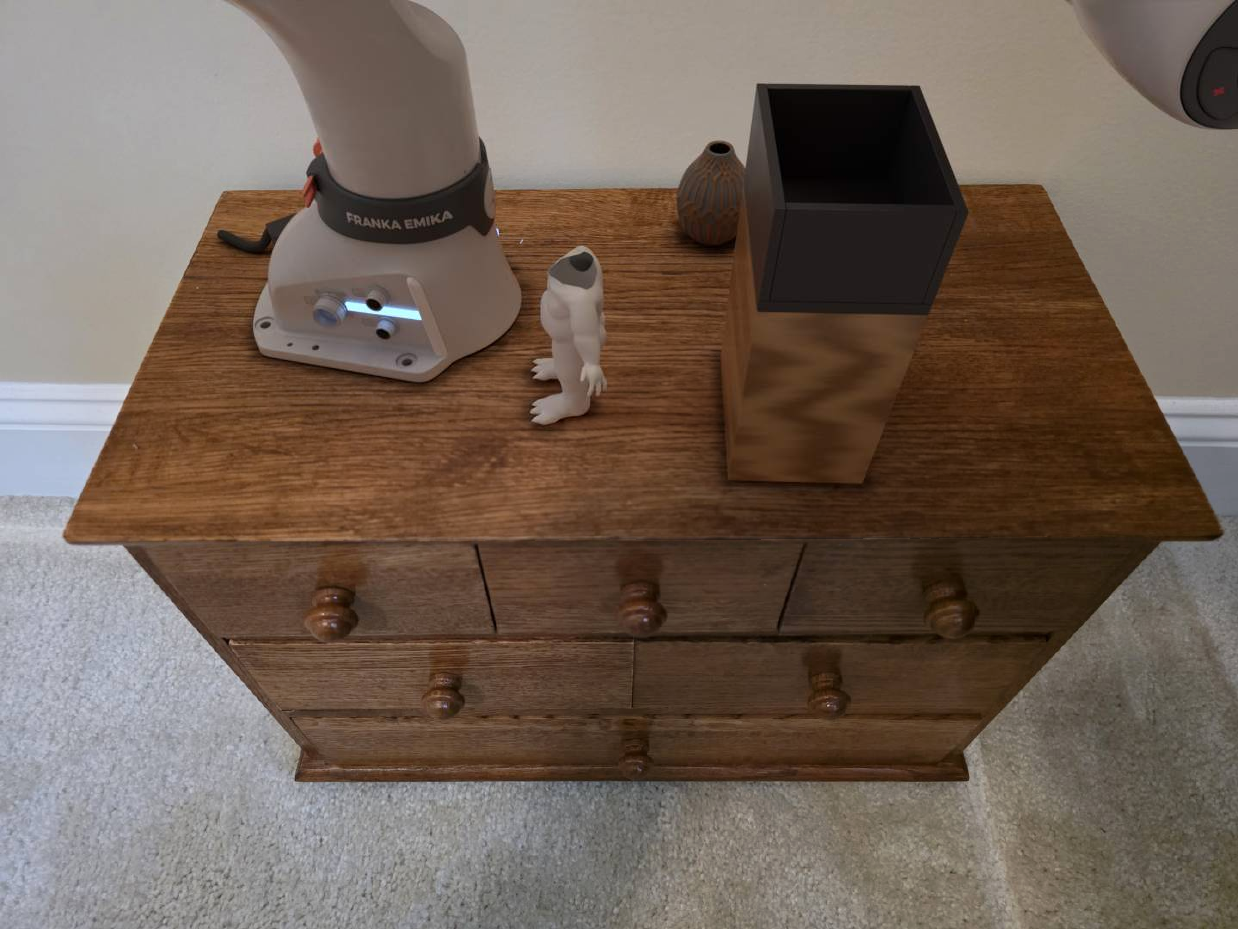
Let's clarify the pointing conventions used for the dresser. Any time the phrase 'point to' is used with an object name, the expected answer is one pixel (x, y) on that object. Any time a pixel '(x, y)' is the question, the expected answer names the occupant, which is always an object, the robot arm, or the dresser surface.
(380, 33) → the robot arm
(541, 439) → the dresser surface
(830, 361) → the stand
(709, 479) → the dresser surface
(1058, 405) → the dresser surface
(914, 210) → the basket
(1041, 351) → the dresser surface
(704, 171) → the vase
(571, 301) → the toy creature
